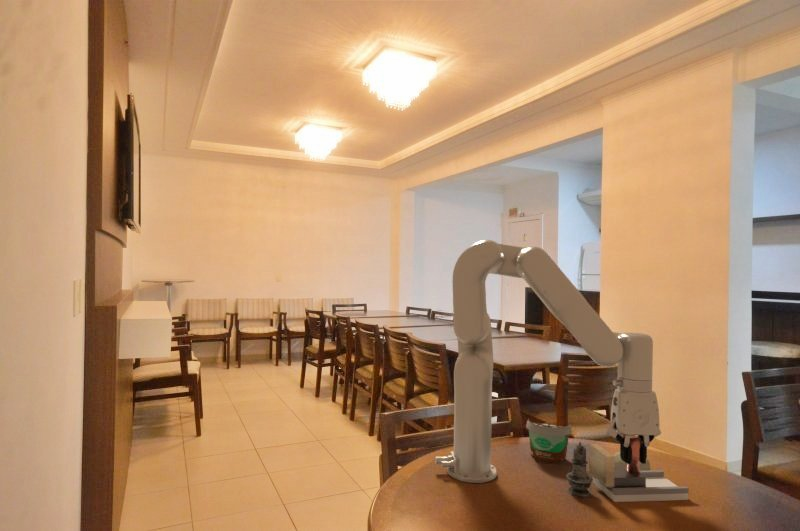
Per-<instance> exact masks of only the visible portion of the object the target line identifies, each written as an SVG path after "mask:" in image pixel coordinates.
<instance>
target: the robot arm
mask: <svg viewBox="0 0 800 531" xmlns="http://www.w3.org/2000/svg"><path fill="white" fill-rule="evenodd" d="M489 274H491V275H492V274H493V275H499V276H506V277H510V278H517V279H523V280H524V281H525V283H527V285H528V286H529V288H531V290H532V291H533V292H534V293H535V295H536V296H537V297H538V298H539V299H540V301H541V302H542V304H544V305H545V306H544V307H546V308H547V310H548V311H549V312H550V313H551V315H553V316H554V318H555V319H557V320H558V321H559V322H560V323H561V324H562V325H563V326H564V327H565V328H566V329H567V331H569V332H570V334H571V335H572V336H573V338H575V340H576V341H577V342H578V343H579V345H580V346H581V347H582V348H583V349H584V351H585V354H586V355H587V356H588V357H589V358H591V360H592V361H593V362H594V363H595V364H597V365H598V366H601V367H613V366H615V365H617V377H616V379H614V380H613V381H612V385H613V386H614V387H616V388H615V389H614V392H613V396H612V402H611V409H610V423H609V425H608V427H607V430H606V434H607V435H609V436H611V437H612V438H614V439H615V440H616V441H617V442H618V444H619V449H620V450H619V451H620V457H621V459H622V460H623V461H624V462H626V463H627V464H630V463H631V447H629V441H630V435H632V436H637V437H640V438H641V451H640V462H641V463H643V464H646V458H647V457H648V452H647V451H648V448H649V447H650V444H651V442H652V441H653V440H654V439H655V438H657V437H658V436H660V435H661V434H662V431H661V429H660V427H661V426H660V410H659V409H660V408H659V403H658V398H657V393H656V391H653V364H654V363H653V362H654V361H653V357H654V356H653V355H654V351H653V350H654V341H653V338H652V337H651V336H650V335H649V334H646V333H639V332H614V331H612V329H611V328H610V327H609V325H608V324H607V323H606V322H605V321H604V320H603V318H601V316H600V315H599V314H598V313H597V312H596V310H595V309H594V308H593V307H592V306H591V305H590V303H589V302H588V301H587V300H586V299H587V298H585V296H584V295H583V294H582V292H580V291H579V290H578V288H577V287H576V285H574V284H573V282H572V281H571V280H570V279H569V277H568V276H567V275H566V274H565V273H564V272H563V270H562V269H561V268H560V267H559V265H557V263H556V262H555V261H554V259H552V257H551V256H550V255H549V253H547V251H545V250H544V249H543V248H541V247H538V246H528V247H524V246H516V245H510V244H503V243H498V242H496V241H495V240H493V239H492V240H491V239H483V240H479V241H477V242H474V243H473V244H471V245H469V246H468V247H467V248H466V249H465V250H463V252H462V253H461V254H460V255H459V257H458V258H457V260H456V262H455V264H454V268H453V271H452V279H451V280H452V309H453V310H452V311H453V332H454V334H455V336H456V339H457V349H458V350H457V351H458V352H457V353H458V357H457V358H456V361H455V363H454V369H453V389H454V394H453V395H454V397H453V399H454V400H453V401H454V403H453V404H454V405H453V408H454V409H453V413H454V414H453V416H454V417H453V450H451V451H450V454H447V455H446V456H440V455H437V456H436V455H435V457H434V462H435V465H441V468H447V469H446V471H447V474H448V475H449V476H450V477H452V478H453V479H455V480H457V481H460V482H464V483H470V484H473V483H474V484H481V483H482V484H483V483H487V482H488V483H489V482H490V481H493V480H494V479H495V478H496V477H497V475H498V474H497V473H498V472H497V468H496V466H494V465H493V464H492V463H491V461H492V456H491V455H492V416H493V415H492V407H493V406H492V404H493V403H492V402H493V398H492V397H493V394H492V393H493V374H494V373H493V372H494V371H493V370H494V351H493V348H494V347H493V335H492V332H493V331H492V321H491V317H490V315H489V313H488V310H487V291H486V281H487V278H488V276H489ZM617 431H618V432H617ZM647 459H648V458H647Z"/></svg>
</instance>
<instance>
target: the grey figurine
mask: <svg viewBox="0 0 800 531" xmlns="http://www.w3.org/2000/svg"><path fill="white" fill-rule="evenodd" d="M571 462H572V471H571V472H568V473H567V474H566V475H565V477H566V478H567V482H568V485H569V486H570V487H568V488H567V490H566V491H567V493H568V494H569V495H571V496H573V497H575V496H576V498H580V497H581V498H580V499H583V498H584V499H587V498H589V497H591V496H592V493H591V492H590V490H588V489H589V488H590V487H591V485H592V483H593V477H592V476H590V475H588V472H587V465H589V463H588V462H589V461H587V449H586V447H585V446H584V445H582V442H581V441H579V443H578V444H577V445H575V446H574V447H573V458H572V459H571Z"/></svg>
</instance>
